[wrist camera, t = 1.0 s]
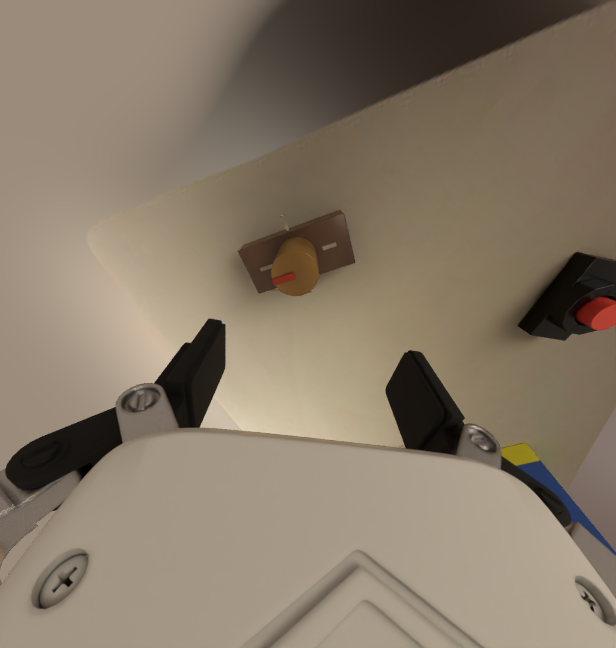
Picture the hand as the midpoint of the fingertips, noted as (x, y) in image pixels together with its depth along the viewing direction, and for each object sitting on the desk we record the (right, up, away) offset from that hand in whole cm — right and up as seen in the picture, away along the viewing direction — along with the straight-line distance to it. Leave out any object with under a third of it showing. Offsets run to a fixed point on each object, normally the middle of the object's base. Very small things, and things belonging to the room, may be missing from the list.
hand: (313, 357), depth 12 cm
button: (+31, +3, +14) cm, 34 cm away
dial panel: (-1, +10, +14) cm, 17 cm away
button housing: (+31, +5, +17) cm, 36 cm away
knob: (-1, +9, +12) cm, 14 cm away
